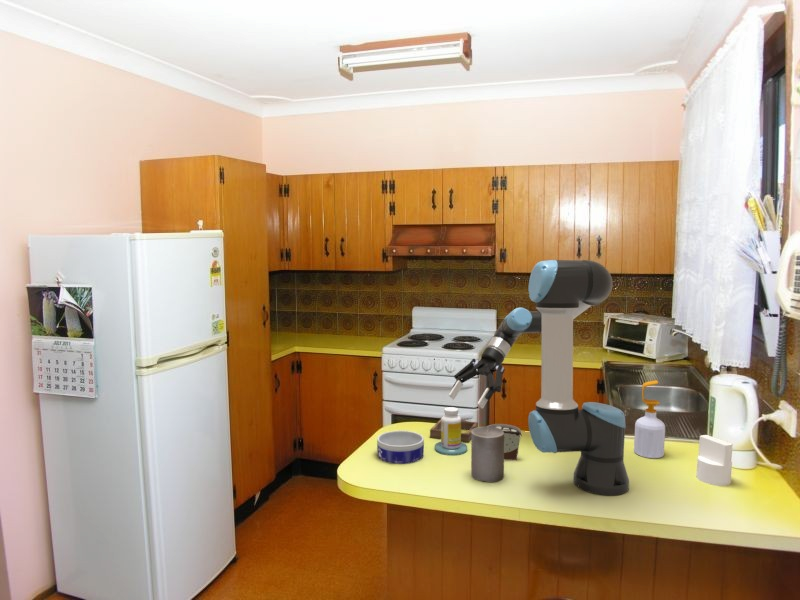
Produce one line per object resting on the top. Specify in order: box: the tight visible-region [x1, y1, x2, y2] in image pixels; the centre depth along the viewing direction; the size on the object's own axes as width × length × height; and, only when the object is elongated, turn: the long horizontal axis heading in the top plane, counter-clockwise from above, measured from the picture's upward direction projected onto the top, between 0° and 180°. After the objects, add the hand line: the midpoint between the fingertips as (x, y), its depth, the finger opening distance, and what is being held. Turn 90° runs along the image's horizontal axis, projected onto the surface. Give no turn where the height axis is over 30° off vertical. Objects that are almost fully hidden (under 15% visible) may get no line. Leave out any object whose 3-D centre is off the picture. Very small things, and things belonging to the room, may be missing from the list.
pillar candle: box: [470, 425, 505, 483], centre depth 172 cm, size 10×10×15 cm
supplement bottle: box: [440, 406, 462, 449], centre depth 193 cm, size 7×7×13 cm
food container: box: [487, 423, 523, 461], centre depth 188 cm, size 12×6×10 cm, turn 84°
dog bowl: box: [376, 430, 425, 465], centre depth 189 cm, size 15×15×6 cm
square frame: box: [429, 418, 479, 444], centre depth 209 cm, size 14×14×3 cm
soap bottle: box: [633, 379, 666, 459], centre depth 189 cm, size 9×9×25 cm
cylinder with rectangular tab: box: [695, 434, 734, 487], centre depth 170 cm, size 9×9×12 cm
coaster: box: [434, 441, 468, 456], centre depth 194 cm, size 11×11×1 cm
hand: (465, 401), depth 196 cm, fingers open, 13 cm apart
